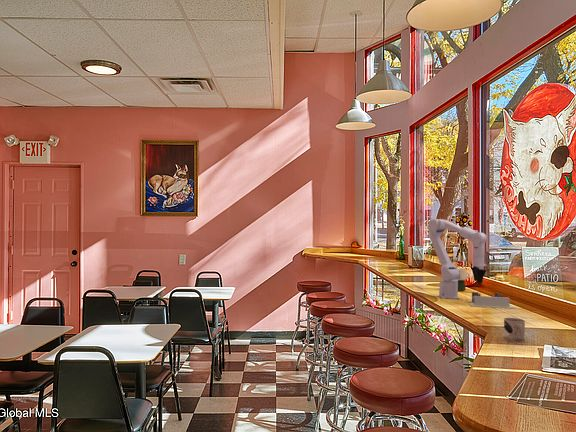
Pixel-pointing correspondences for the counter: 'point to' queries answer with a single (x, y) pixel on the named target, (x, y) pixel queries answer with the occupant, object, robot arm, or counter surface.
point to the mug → (514, 329)
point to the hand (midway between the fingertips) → (478, 281)
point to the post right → (498, 295)
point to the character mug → (462, 279)
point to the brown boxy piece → (475, 295)
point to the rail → (492, 301)
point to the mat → (491, 306)
